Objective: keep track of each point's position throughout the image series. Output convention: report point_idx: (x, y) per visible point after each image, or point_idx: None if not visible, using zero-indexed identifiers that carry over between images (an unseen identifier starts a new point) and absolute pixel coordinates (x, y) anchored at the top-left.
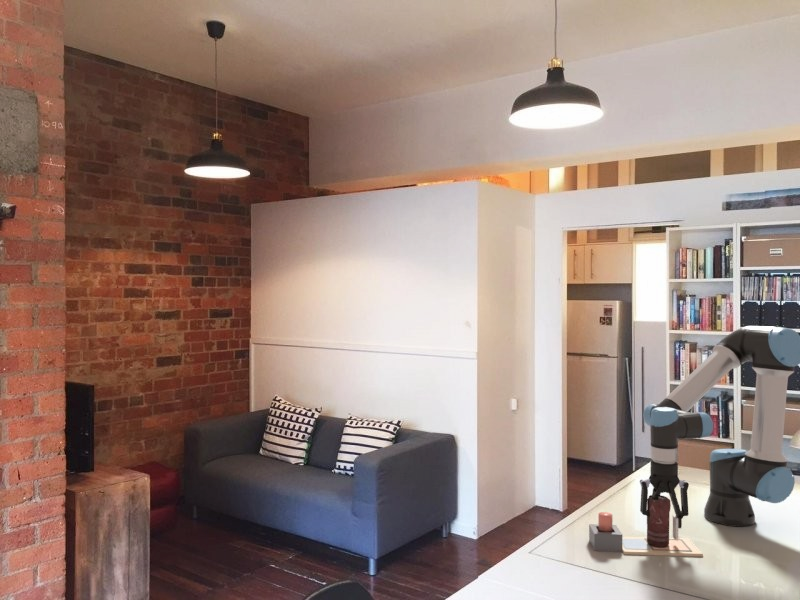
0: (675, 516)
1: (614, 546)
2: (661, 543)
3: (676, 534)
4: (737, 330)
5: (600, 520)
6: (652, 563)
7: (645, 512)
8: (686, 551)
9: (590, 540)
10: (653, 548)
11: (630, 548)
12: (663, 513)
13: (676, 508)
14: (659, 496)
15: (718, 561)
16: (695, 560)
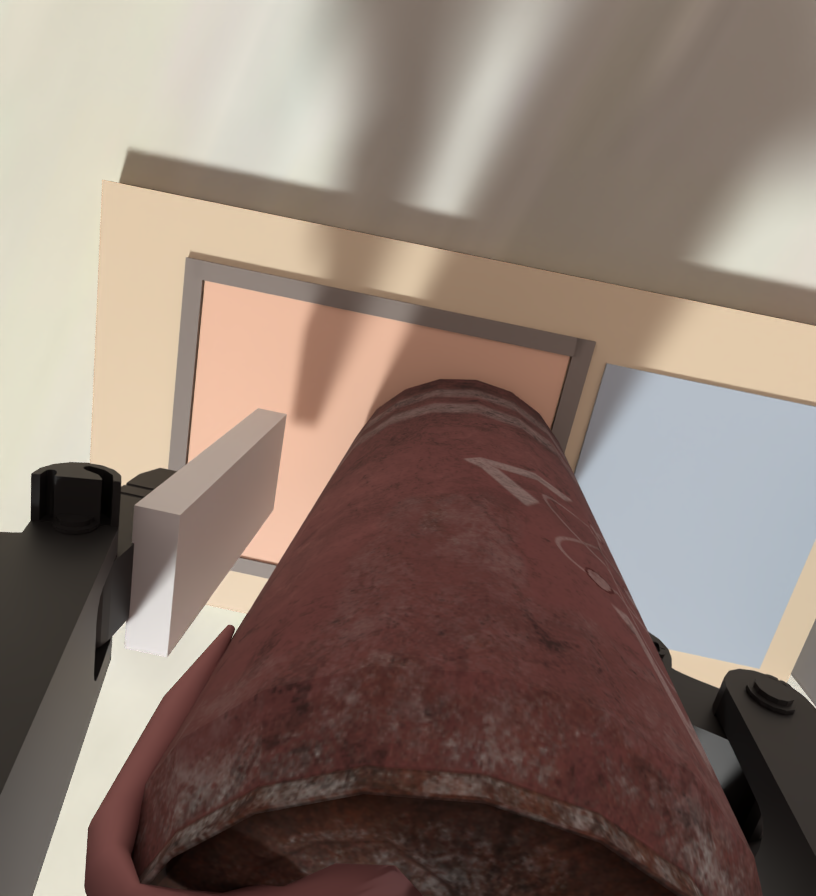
0: (142, 605)
1: None
2: (476, 384)
3: (257, 431)
4: None
5: None
6: (759, 54)
7: (758, 700)
8: (248, 267)
9: None
10: (562, 383)
11: (813, 416)
12: (442, 526)
13: (52, 618)
14: None
15: (9, 33)
16: (238, 89)
